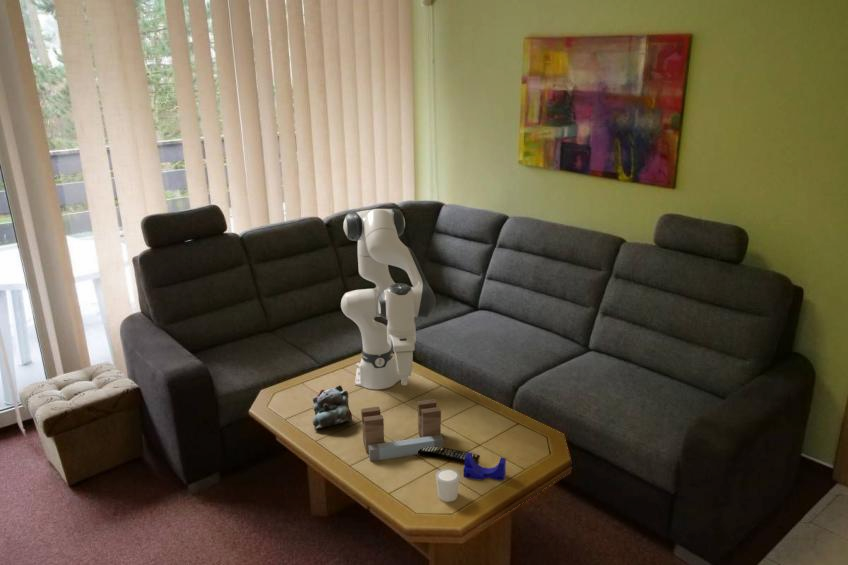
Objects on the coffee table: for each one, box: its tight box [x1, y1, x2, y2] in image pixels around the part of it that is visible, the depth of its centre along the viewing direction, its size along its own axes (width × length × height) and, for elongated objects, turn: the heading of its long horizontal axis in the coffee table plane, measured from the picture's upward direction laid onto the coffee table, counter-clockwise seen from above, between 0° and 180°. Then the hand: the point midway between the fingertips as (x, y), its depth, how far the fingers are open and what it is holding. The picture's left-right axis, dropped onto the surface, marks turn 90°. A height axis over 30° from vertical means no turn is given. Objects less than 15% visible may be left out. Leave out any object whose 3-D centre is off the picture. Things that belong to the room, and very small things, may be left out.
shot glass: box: [435, 468, 460, 503], centre depth 188 cm, size 7×7×7 cm
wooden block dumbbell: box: [360, 398, 442, 454], centre depth 215 cm, size 8×25×12 cm, turn 103°
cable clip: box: [463, 451, 507, 481], centre depth 197 cm, size 12×4×6 cm, turn 73°
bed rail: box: [368, 434, 444, 462], centre depth 210 cm, size 3×24×4 cm, turn 103°
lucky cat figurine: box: [312, 385, 353, 430], centre depth 229 cm, size 15×12×14 cm
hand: (402, 378), depth 204 cm, fingers open, 8 cm apart
